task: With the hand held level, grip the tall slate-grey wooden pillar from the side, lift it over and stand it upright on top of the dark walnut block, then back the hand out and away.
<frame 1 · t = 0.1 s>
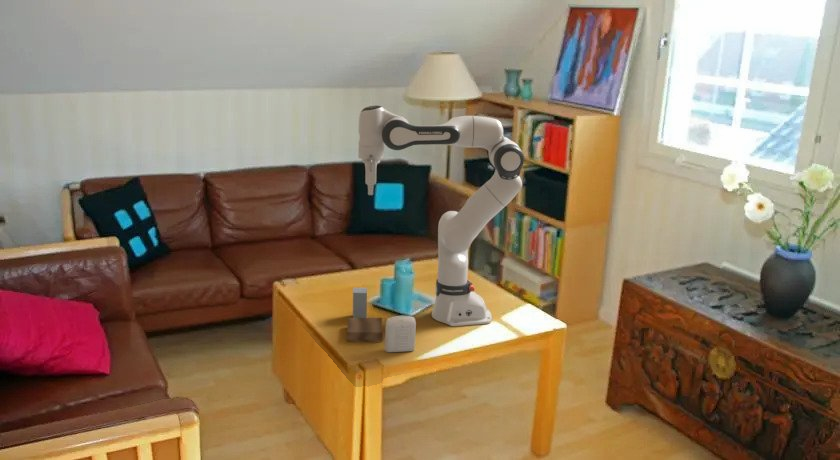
hand: (370, 191, 257), 48 cm above the table, tool pointing down, fingers open, 8 cm apart
walnut block: (364, 335, 256), on the table
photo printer: (399, 350, 246), on the table
grey pillar: (359, 317, 269), on the table
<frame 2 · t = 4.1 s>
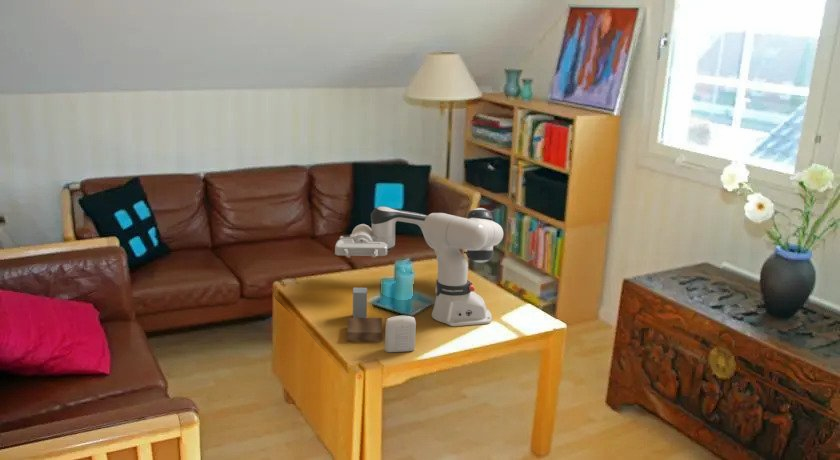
hand: (360, 255, 276), 20 cm above the table, tool horizontal, fingers open, 8 cm apart
nothing on the table moved.
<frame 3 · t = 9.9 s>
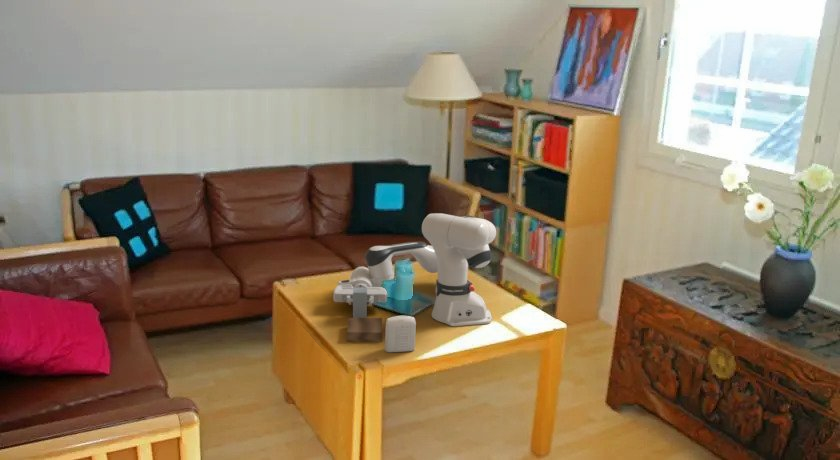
hand: (359, 303, 267), 6 cm above the table, tool horizontal, fingers closed on grey pillar, 5 cm apart
grey pillar: (359, 317, 269), on the table, touching gripper
everything else where it was.
when the fingers open (11 cm above the table, at t = 14.9 s): grey pillar drops 1 cm, resting on walnut block.
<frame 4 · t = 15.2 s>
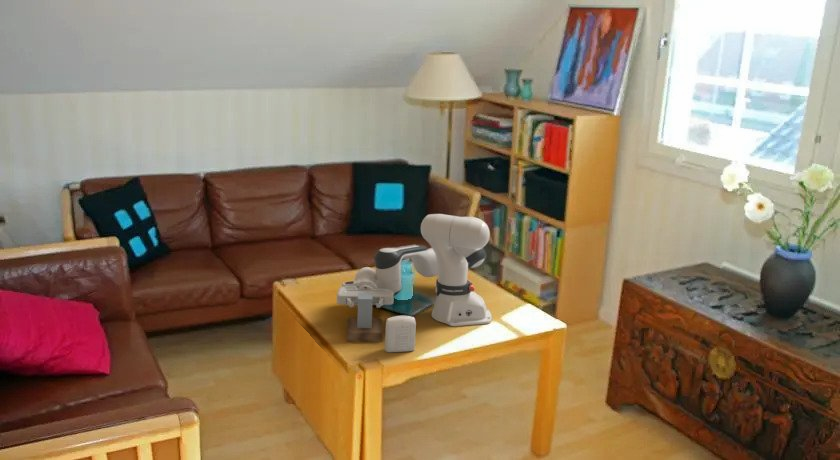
hand: (365, 305, 253), 11 cm above the table, tool horizontal, fingers open, 8 cm apart
walnut block: (364, 335, 256), on the table, touching grey pillar
grey pillar: (364, 325, 255), point 4 cm above the table, touching walnut block
everything else where it was.
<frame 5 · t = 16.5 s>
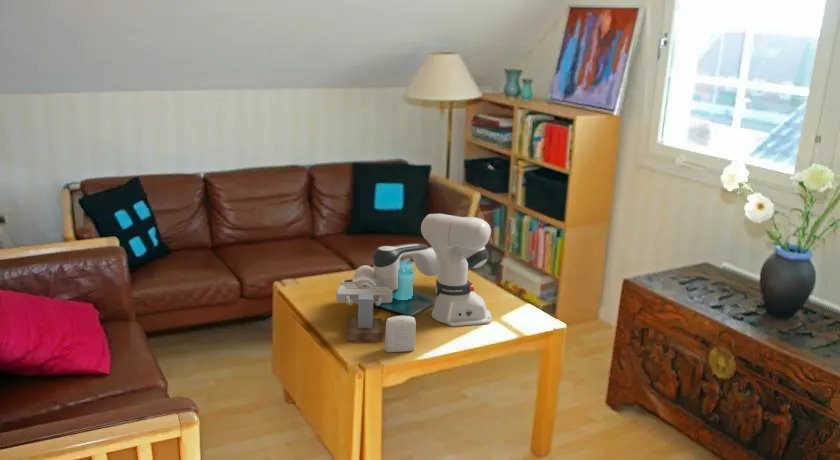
hand: (364, 303, 255), 11 cm above the table, tool horizontal, fingers open, 8 cm apart
walnut block: (364, 335, 256), on the table
grey pillar: (365, 324, 255), point 4 cm above the table
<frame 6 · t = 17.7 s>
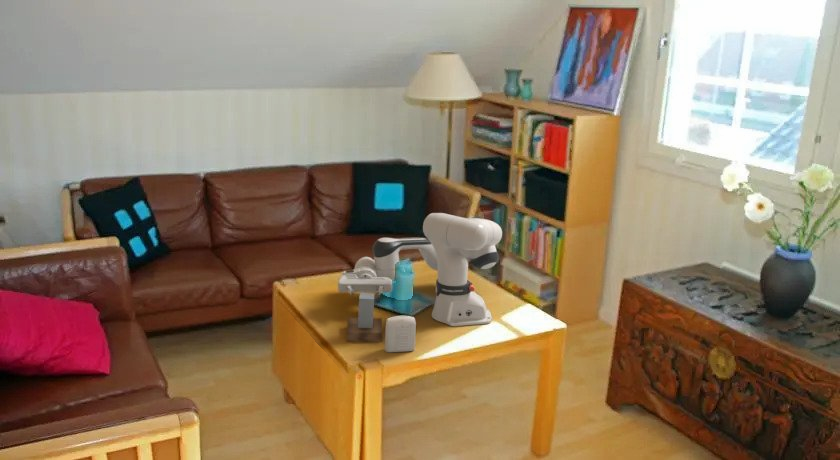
hand: (365, 293, 264), 11 cm above the table, tool horizontal, fingers open, 8 cm apart
walnut block: (364, 335, 256), on the table, touching grey pillar
grey pillar: (365, 325, 255), point 4 cm above the table, touching walnut block
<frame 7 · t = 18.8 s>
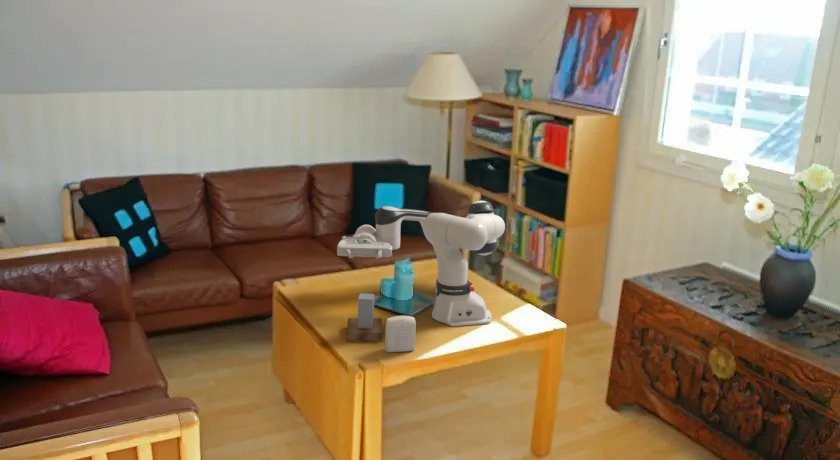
hand: (364, 256, 262), 24 cm above the table, tool horizontal, fingers open, 8 cm apart
walnut block: (364, 335, 256), on the table
grey pillar: (365, 325, 255), point 4 cm above the table
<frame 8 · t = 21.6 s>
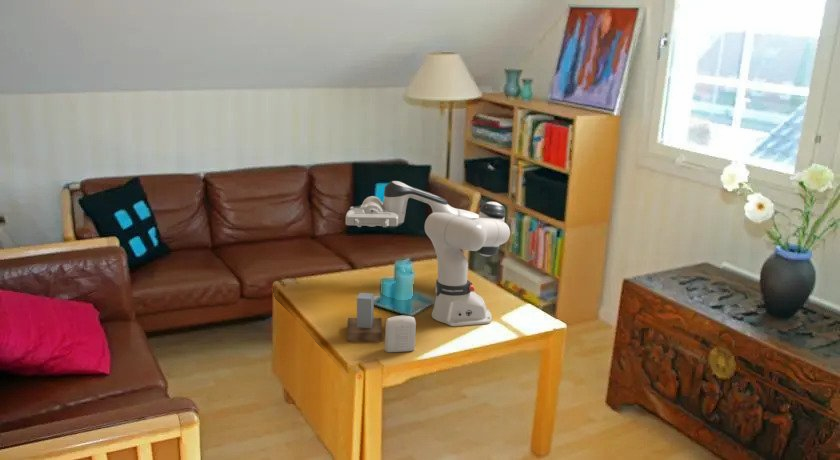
hand: (371, 225, 273), 32 cm above the table, tool horizontal, fingers open, 8 cm apart
walnut block: (364, 335, 256), on the table, touching grey pillar
grey pillar: (365, 324, 255), point 4 cm above the table, touching walnut block
at the end: grey pillar inside the target area on the walnut block (0.2 cm from its centre), point 4.0 cm above the walnut block's base; grey pillar tilted 1°; the gripper is holding nothing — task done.
